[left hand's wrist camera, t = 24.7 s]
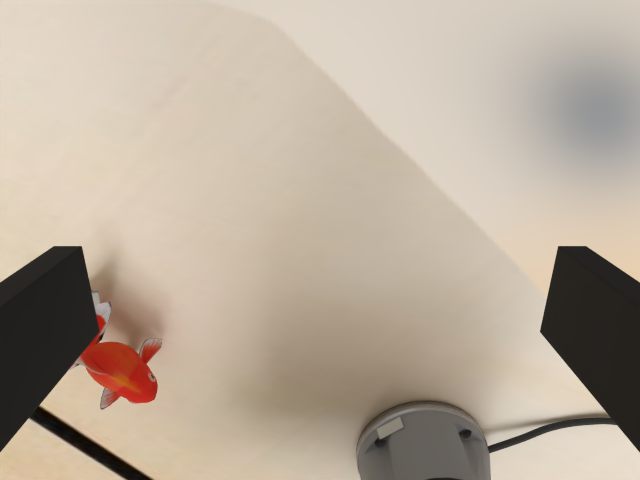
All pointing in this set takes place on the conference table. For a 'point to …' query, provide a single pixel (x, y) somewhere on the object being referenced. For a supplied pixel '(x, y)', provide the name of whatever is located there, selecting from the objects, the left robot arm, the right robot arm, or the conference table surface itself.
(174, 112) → the conference table surface
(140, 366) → the fish
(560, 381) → the conference table surface
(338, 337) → the conference table surface
